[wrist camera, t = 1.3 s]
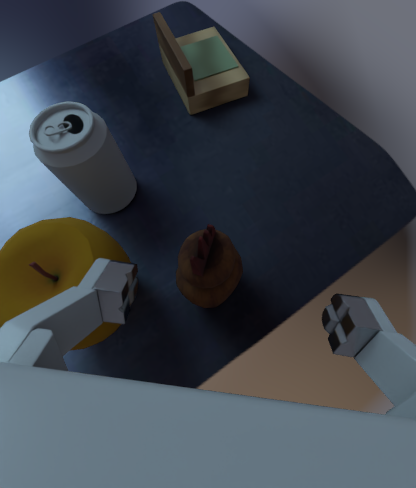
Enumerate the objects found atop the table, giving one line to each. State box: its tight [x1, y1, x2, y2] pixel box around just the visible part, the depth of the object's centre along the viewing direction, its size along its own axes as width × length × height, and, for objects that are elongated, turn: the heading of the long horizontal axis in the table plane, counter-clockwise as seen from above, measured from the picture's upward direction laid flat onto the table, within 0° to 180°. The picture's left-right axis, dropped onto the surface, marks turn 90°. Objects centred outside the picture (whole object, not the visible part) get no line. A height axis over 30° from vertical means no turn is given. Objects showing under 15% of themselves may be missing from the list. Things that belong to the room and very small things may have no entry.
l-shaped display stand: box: [153, 12, 250, 115], centre depth 39 cm, size 10×14×7 cm
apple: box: [0, 217, 131, 350], centre depth 23 cm, size 11×11×13 cm
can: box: [29, 102, 137, 214], centre depth 29 cm, size 8×8×12 cm
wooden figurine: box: [176, 224, 243, 308], centre depth 22 cm, size 7×6×15 cm
